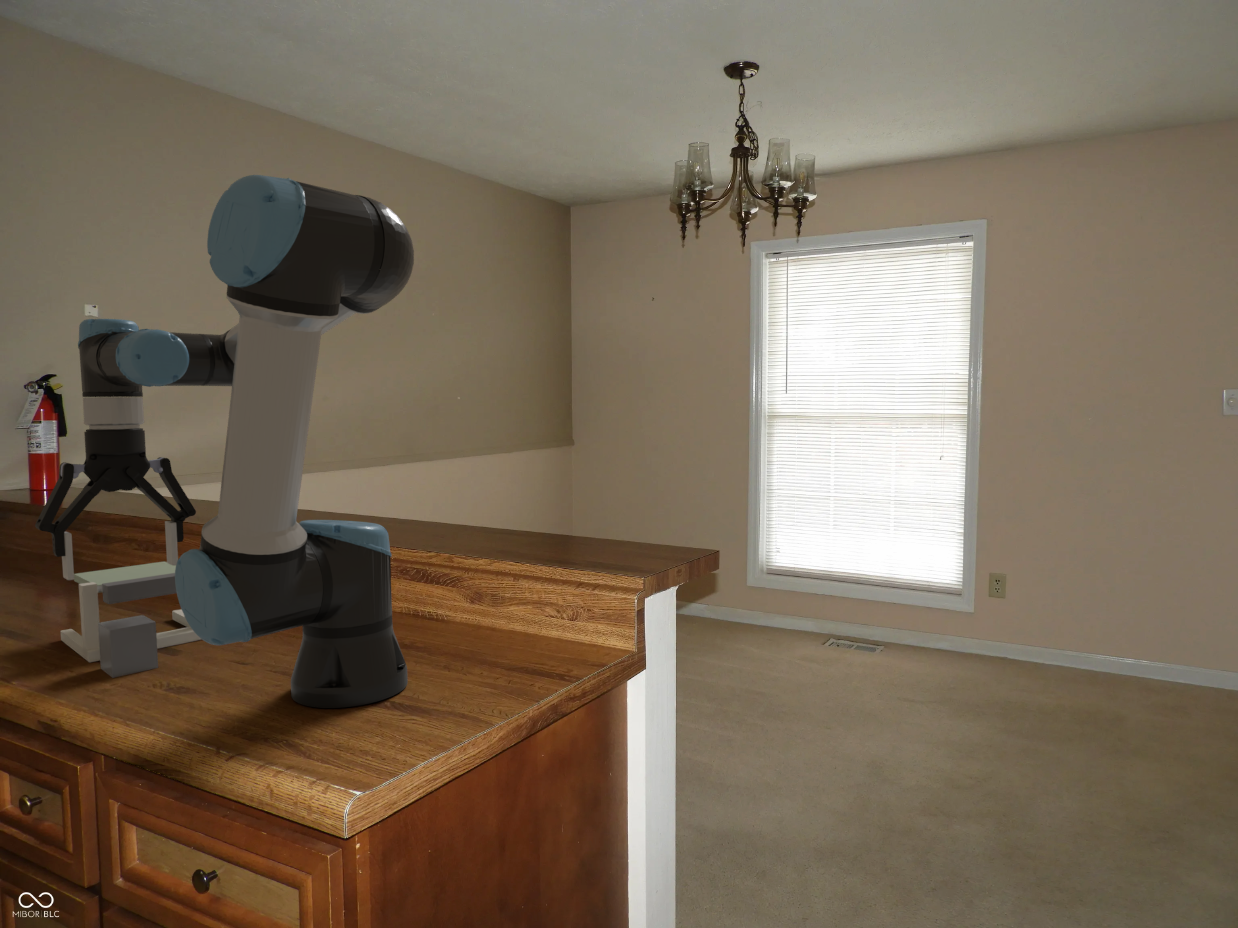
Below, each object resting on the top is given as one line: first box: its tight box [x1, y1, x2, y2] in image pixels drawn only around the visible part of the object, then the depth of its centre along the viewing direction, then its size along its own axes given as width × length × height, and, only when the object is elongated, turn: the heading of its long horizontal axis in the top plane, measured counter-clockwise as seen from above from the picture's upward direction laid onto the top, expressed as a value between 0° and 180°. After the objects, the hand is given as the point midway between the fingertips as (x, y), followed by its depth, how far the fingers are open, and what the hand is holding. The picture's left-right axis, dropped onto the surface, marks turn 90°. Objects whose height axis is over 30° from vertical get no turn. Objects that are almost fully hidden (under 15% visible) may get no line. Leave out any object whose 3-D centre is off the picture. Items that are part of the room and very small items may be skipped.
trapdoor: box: [73, 561, 177, 605], centre depth 138 cm, size 18×14×3 cm
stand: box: [60, 582, 203, 663], centre depth 138 cm, size 18×19×12 cm
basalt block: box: [98, 614, 159, 679], centre depth 123 cm, size 6×6×7 cm
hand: (122, 571), depth 122 cm, fingers open, 13 cm apart
